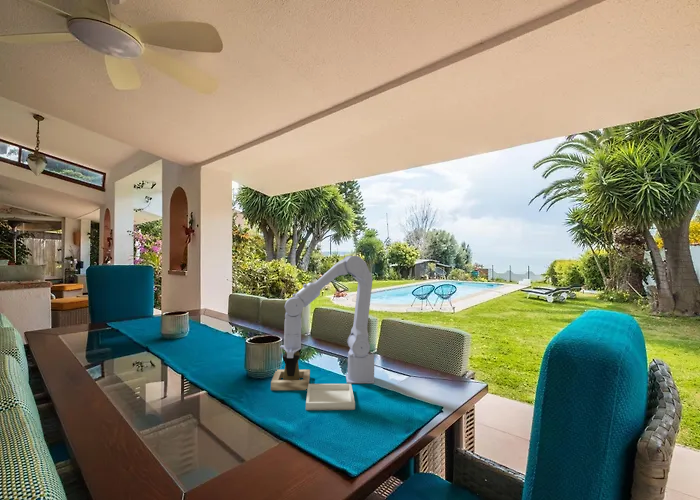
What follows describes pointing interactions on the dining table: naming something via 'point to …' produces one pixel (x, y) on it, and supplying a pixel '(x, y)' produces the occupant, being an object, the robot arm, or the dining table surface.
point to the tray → (330, 397)
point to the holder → (290, 381)
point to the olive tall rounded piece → (296, 375)
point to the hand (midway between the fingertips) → (291, 372)
